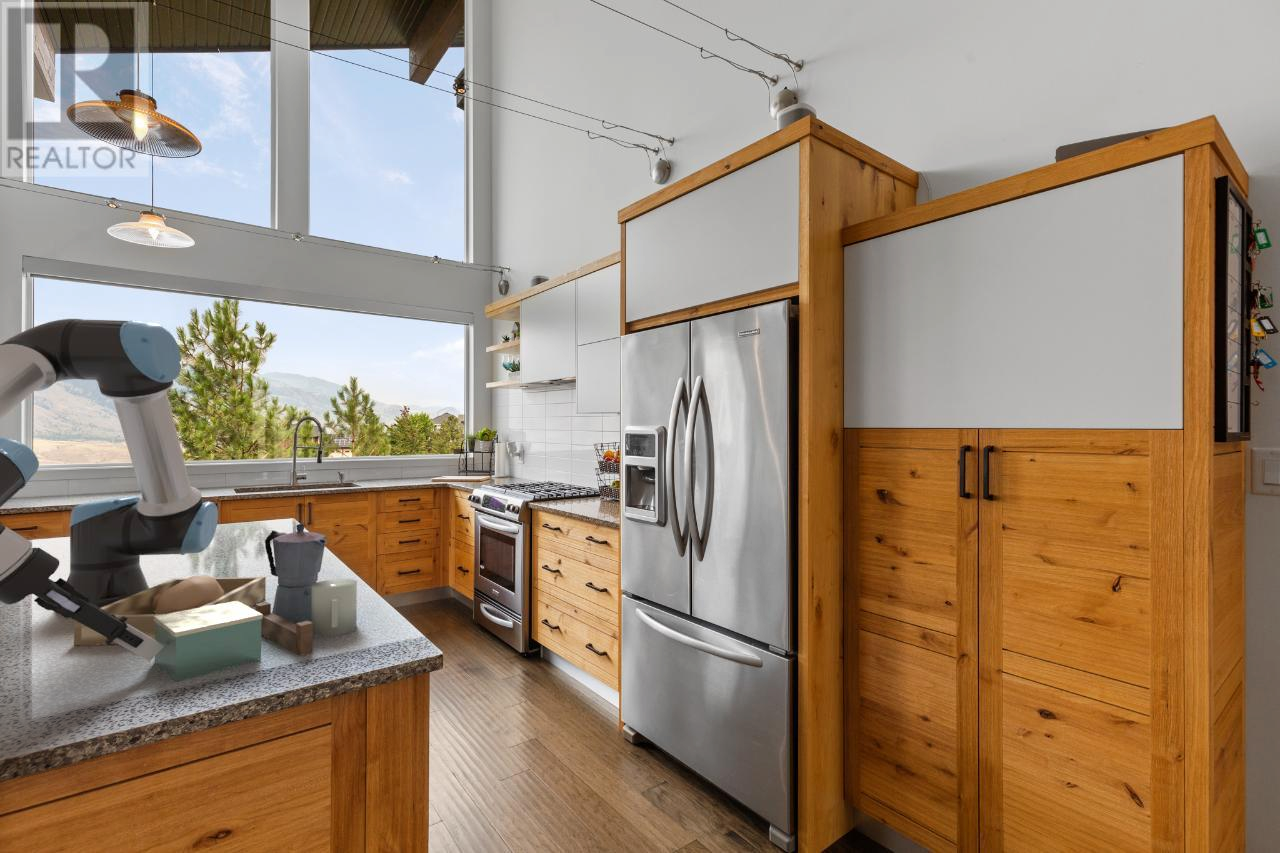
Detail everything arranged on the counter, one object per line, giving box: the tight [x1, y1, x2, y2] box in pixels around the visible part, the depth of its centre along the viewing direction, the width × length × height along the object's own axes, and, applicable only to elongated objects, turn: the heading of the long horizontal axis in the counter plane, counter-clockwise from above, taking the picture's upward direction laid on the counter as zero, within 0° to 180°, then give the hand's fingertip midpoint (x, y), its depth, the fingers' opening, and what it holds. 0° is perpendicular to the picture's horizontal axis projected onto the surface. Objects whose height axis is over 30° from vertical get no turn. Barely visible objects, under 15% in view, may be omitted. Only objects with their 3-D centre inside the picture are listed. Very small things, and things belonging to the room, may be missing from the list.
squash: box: [151, 574, 224, 614], centre depth 125 cm, size 11×20×9 cm, turn 59°
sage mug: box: [311, 578, 358, 637], centre depth 119 cm, size 10×8×9 cm
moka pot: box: [264, 523, 328, 624], centre depth 125 cm, size 10×15×20 cm, turn 78°
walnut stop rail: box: [254, 601, 314, 656], centre depth 113 cm, size 20×2×5 cm, turn 52°
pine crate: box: [73, 576, 267, 647], centre depth 125 cm, size 28×19×5 cm
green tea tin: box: [154, 601, 263, 683], centre depth 104 cm, size 12×12×8 cm
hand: (155, 652), depth 98 cm, fingers closed
